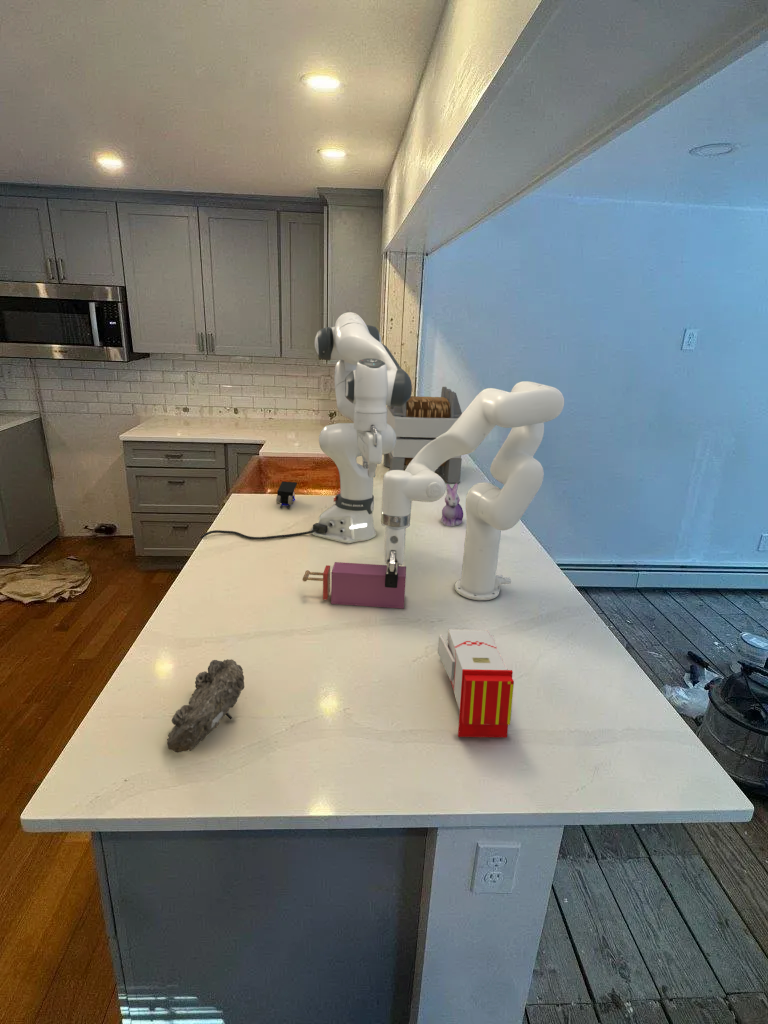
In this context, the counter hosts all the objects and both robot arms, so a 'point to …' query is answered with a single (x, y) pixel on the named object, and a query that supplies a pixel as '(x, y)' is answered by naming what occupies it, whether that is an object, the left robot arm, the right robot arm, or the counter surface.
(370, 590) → the cabinet
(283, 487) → the figurine character
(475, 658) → the toy
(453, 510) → the figurine
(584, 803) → the counter surface
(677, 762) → the counter surface
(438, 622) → the counter surface
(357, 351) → the left robot arm
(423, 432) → the transformer
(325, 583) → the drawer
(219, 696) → the fossil
